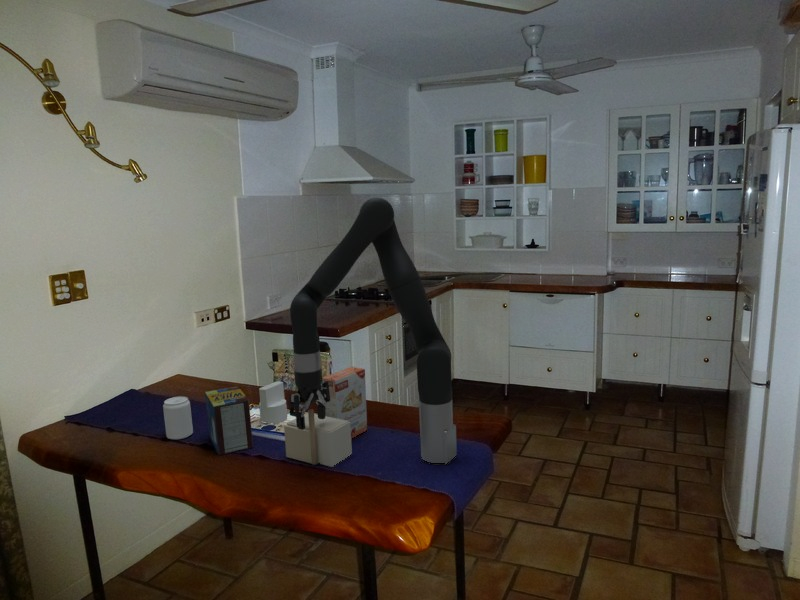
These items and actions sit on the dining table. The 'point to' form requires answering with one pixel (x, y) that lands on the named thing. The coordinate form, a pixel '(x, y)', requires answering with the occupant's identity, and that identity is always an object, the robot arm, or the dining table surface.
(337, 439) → the carton
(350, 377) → the cracker box
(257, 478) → the dining table surface
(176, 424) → the beverage can
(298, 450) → the flap
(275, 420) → the cylinder with rectangular tab
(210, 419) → the protein box
